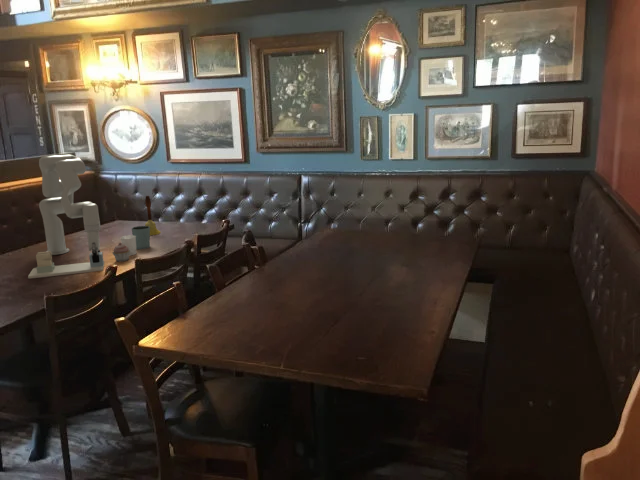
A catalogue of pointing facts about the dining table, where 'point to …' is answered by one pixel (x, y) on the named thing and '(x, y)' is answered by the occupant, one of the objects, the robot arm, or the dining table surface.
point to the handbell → (150, 223)
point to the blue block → (99, 260)
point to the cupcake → (121, 252)
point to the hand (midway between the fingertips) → (96, 260)
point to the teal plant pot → (142, 236)
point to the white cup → (130, 243)
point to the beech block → (44, 259)
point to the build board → (63, 270)
